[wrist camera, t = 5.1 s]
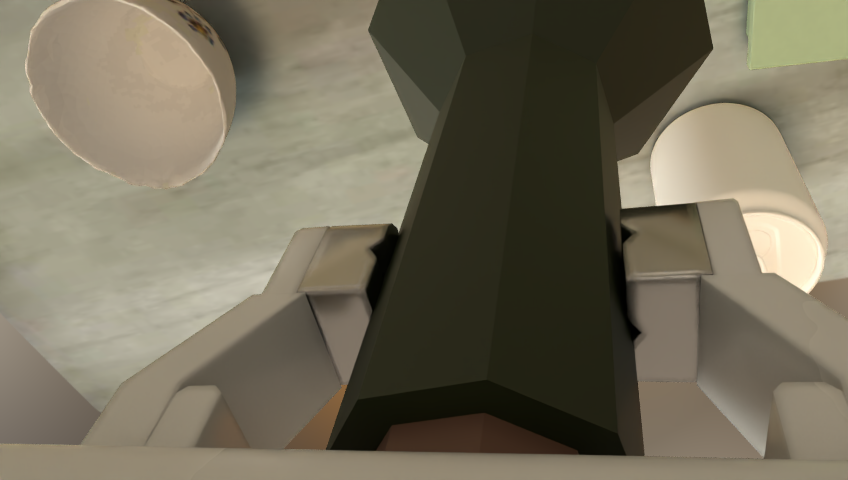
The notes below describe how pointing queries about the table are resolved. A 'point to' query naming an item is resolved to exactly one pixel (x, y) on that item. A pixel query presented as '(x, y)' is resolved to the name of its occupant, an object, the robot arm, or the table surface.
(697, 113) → the beverage can
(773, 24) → the green low rectangular block
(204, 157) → the teacup
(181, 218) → the table surface
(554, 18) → the wine bottle
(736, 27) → the table surface
